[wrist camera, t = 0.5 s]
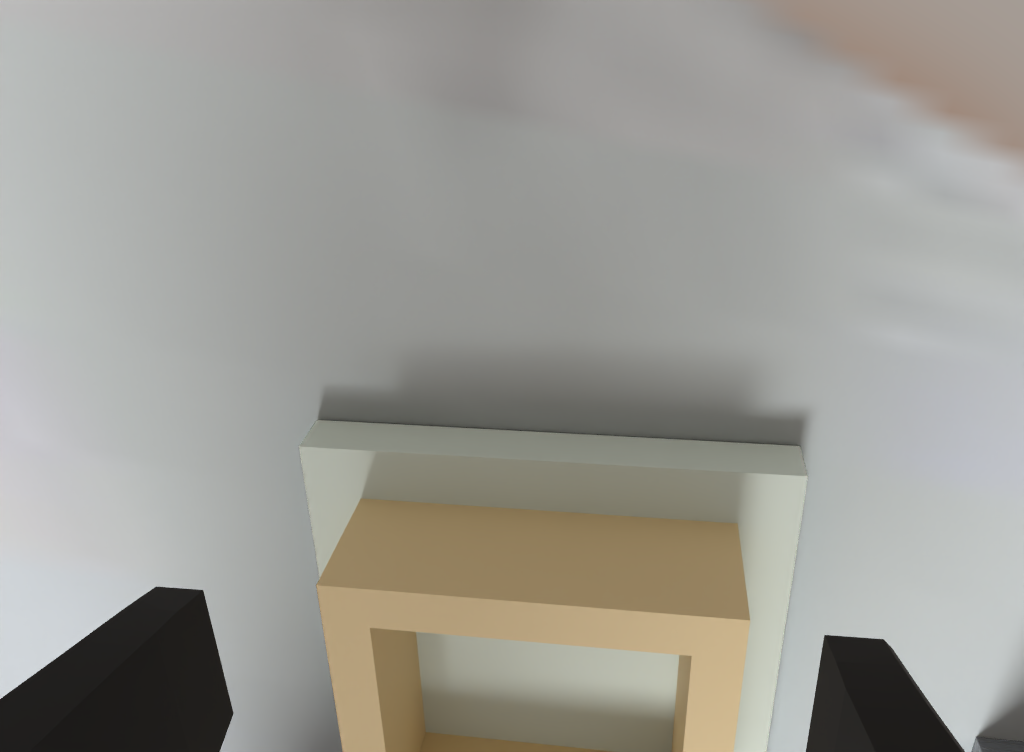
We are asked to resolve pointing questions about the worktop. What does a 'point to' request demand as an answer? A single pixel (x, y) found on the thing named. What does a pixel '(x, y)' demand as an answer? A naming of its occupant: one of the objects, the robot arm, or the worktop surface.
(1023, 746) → the speaker box
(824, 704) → the robot arm
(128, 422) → the worktop surface
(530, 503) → the frame
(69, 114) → the worktop surface
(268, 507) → the worktop surface
